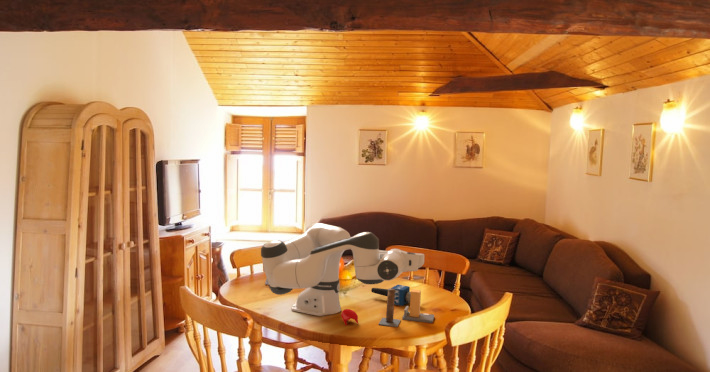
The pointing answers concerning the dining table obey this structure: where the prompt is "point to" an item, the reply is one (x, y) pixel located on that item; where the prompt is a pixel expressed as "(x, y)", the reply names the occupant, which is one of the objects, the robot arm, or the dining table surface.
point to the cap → (349, 315)
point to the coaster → (394, 324)
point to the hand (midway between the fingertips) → (401, 253)
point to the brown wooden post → (390, 305)
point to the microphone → (396, 294)
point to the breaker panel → (421, 317)
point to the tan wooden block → (415, 303)
